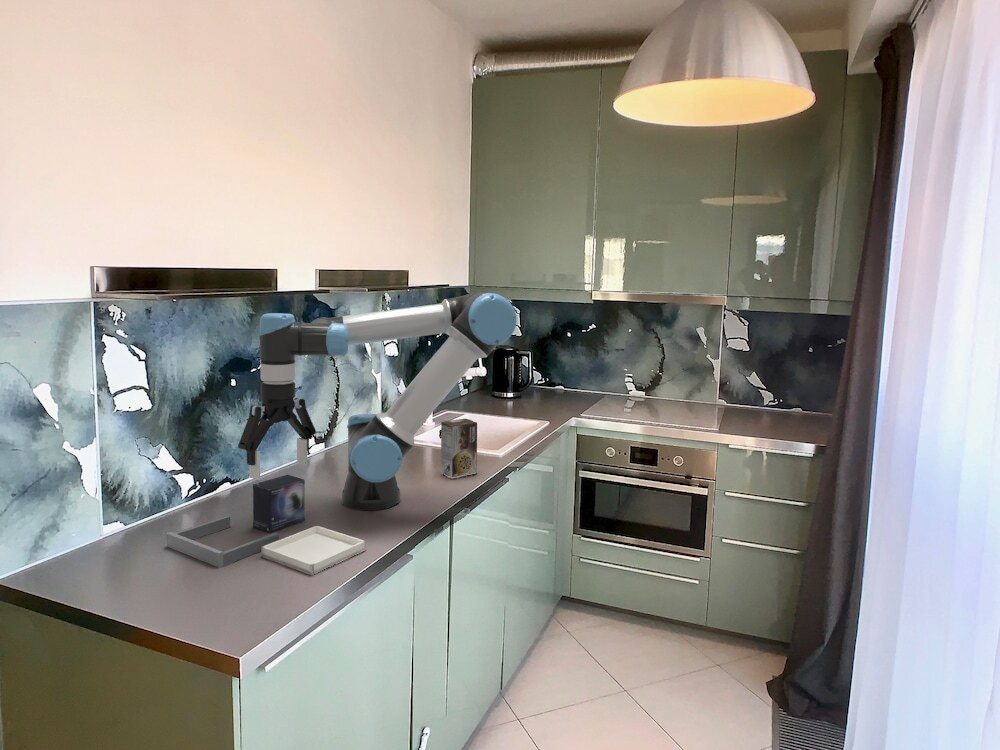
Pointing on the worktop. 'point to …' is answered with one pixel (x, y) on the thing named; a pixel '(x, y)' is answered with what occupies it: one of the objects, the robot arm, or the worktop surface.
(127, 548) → the worktop surface
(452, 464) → the coffee box
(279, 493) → the small box
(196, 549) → the bay
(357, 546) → the tray
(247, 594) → the worktop surface
